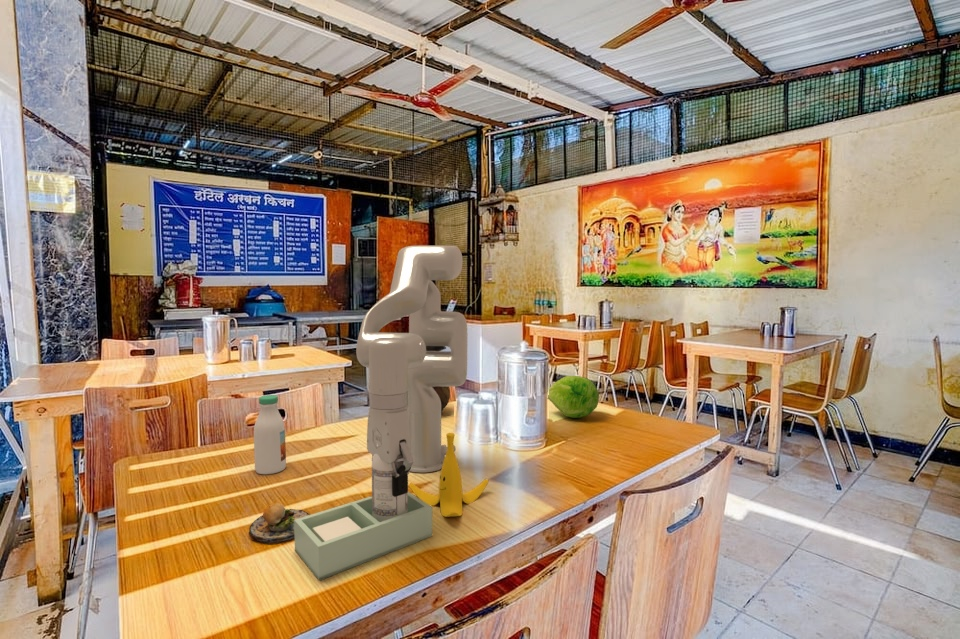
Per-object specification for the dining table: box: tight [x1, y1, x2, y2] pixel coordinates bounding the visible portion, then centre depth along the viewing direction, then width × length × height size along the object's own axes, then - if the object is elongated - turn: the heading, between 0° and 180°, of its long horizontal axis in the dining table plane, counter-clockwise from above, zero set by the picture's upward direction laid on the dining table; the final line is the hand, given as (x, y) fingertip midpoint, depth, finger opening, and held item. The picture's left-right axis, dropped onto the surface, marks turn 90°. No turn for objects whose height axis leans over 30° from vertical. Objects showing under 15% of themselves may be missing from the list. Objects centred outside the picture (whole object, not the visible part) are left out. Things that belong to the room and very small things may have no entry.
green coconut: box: [547, 375, 600, 419], centre depth 182 cm, size 17×20×16 cm
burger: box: [248, 501, 311, 545], centre depth 99 cm, size 12×12×8 cm
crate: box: [294, 491, 433, 582], centre depth 94 cm, size 23×12×6 cm, turn 129°
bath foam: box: [371, 454, 408, 522], centre depth 97 cm, size 7×7×20 cm
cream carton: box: [312, 517, 361, 542], centre depth 91 cm, size 7×7×4 cm
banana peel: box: [408, 432, 489, 518], centre depth 112 cm, size 17×19×17 cm
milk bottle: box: [253, 394, 287, 475], centre depth 130 cm, size 8×8×20 cm
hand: (390, 487), depth 97 cm, fingers closed on bath foam, 7 cm apart
